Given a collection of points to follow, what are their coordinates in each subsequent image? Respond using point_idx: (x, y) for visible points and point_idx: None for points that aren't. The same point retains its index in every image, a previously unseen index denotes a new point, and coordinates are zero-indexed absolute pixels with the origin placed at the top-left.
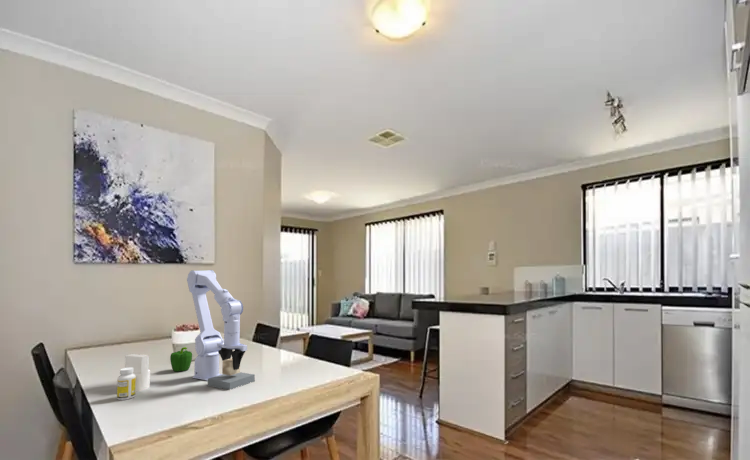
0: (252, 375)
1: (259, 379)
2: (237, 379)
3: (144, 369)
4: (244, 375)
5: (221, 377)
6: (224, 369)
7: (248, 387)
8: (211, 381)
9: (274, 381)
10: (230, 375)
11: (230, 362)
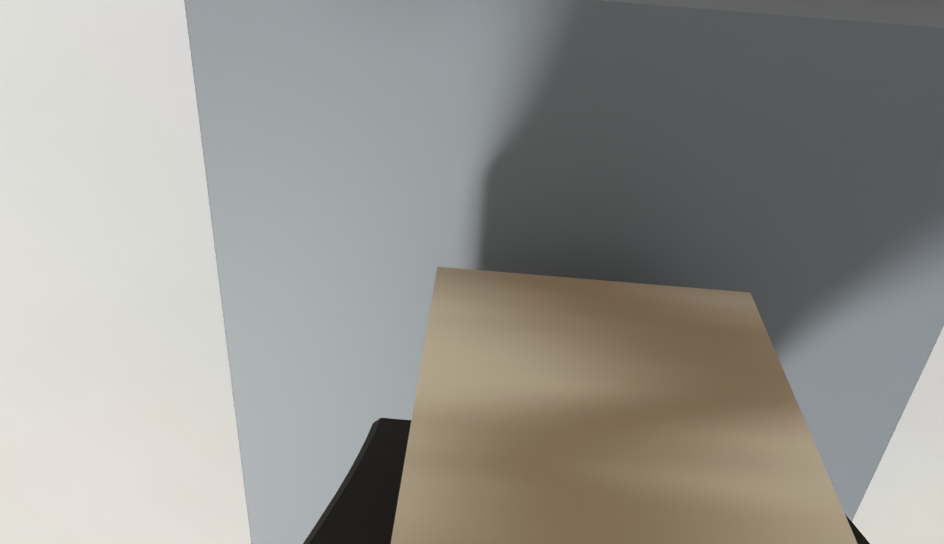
0: (251, 514)
1: None
2: (264, 244)
3: None
4: None
5: (754, 244)
6: (691, 365)
7: (61, 199)
8: (893, 11)
9: (14, 527)
10: None
11: (406, 530)
